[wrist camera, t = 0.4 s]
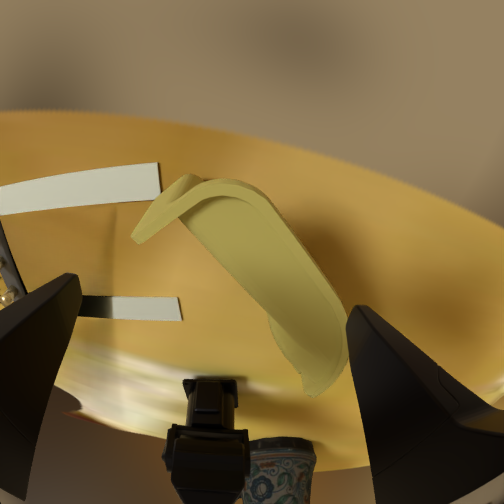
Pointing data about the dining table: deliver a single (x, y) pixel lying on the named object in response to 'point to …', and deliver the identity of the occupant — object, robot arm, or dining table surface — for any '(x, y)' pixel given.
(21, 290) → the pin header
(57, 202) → the strip
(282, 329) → the plastic component
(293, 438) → the beer stein
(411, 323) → the dining table surface
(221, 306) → the dining table surface
